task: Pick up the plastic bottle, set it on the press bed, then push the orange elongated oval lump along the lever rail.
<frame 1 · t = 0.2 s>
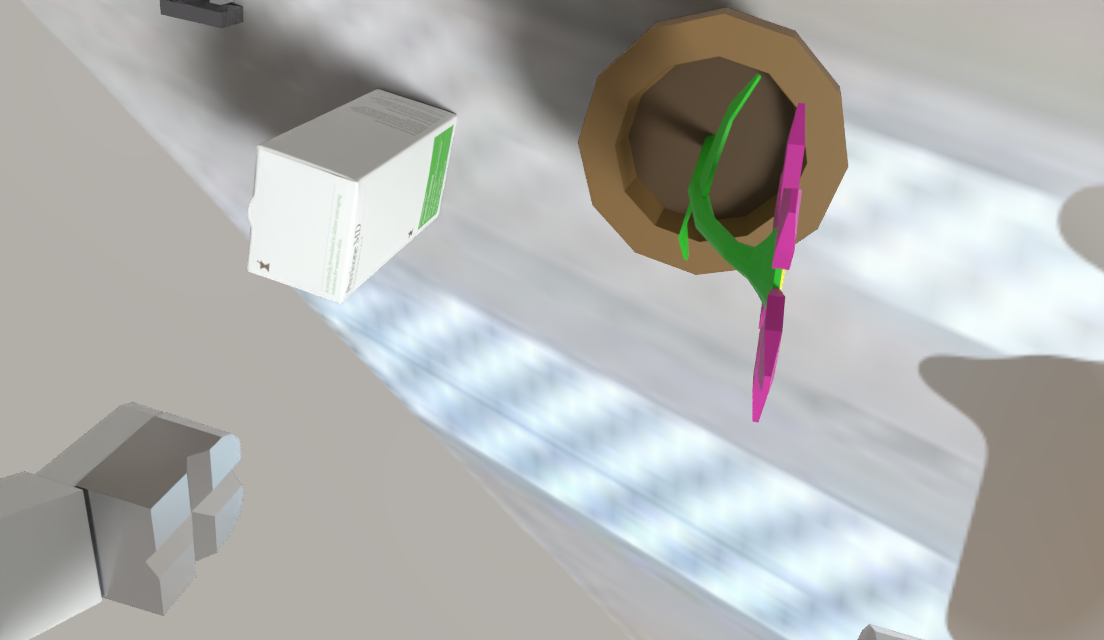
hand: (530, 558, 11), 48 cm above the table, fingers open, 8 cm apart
skincare box: (408, 149, 62), on the table
flowerpot: (723, 104, 55), on the table
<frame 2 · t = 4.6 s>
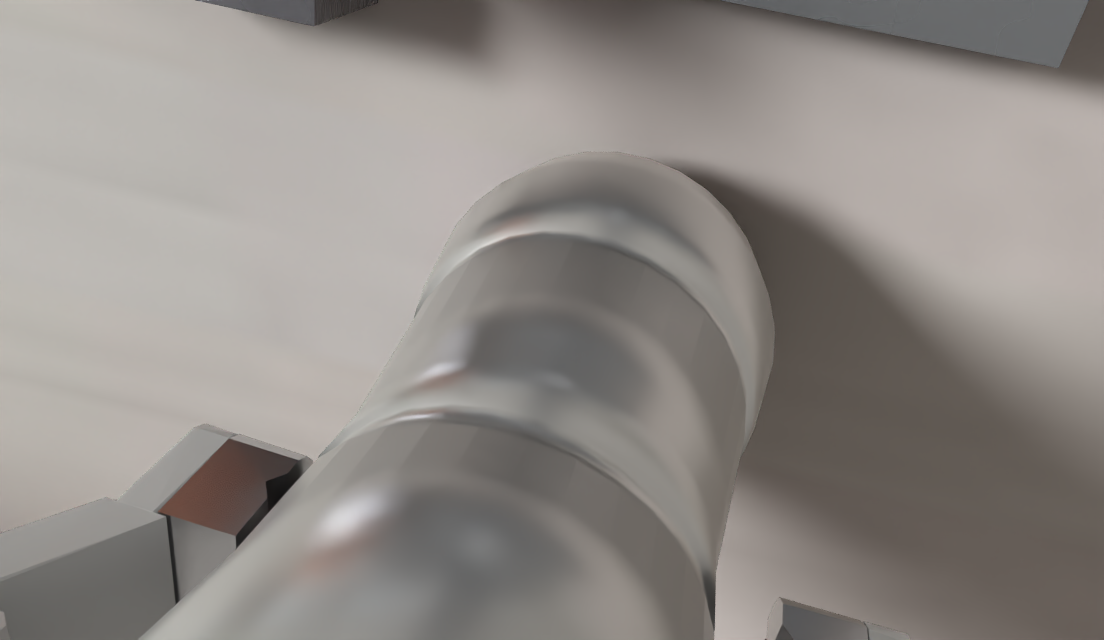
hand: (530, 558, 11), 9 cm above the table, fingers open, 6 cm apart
plastic bottle: (620, 271, 18), on the table, touching arm, gripper
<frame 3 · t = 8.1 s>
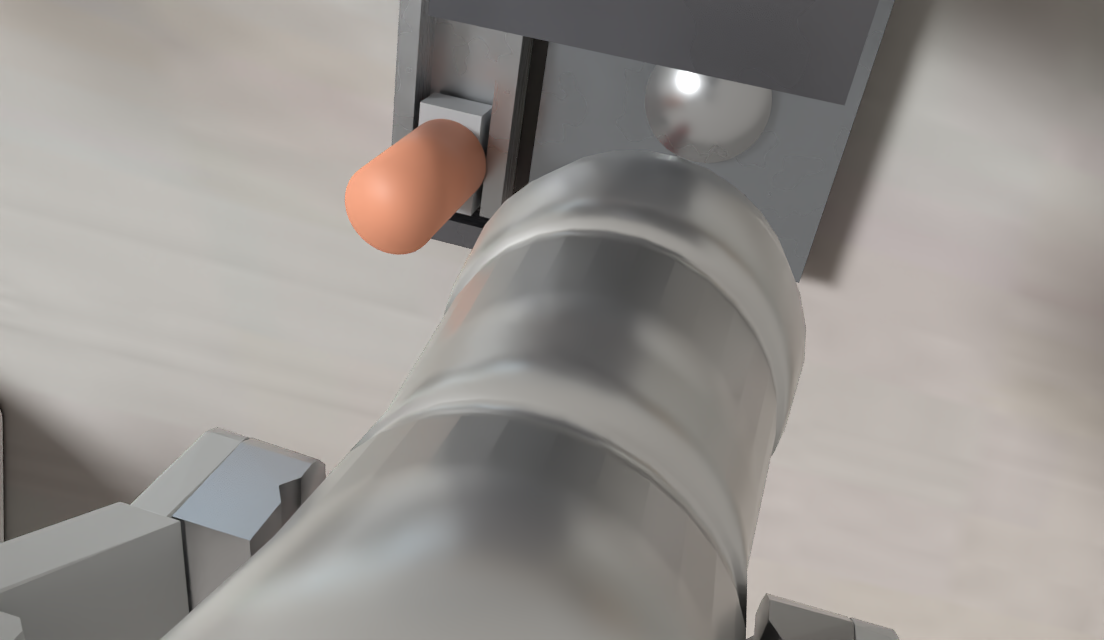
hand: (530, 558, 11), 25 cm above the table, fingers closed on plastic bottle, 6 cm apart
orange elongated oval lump: (427, 176, 31), point 5 cm above the table, slide at 0.0 cm
press bed: (711, 32, 31), on the table
plastic bottle: (649, 271, 18), point 16 cm above the table, touching gripper
when the fingers open (11 cm above the table, at t = 10.5 s): plastic bottle stays where it is, resting on press bed.
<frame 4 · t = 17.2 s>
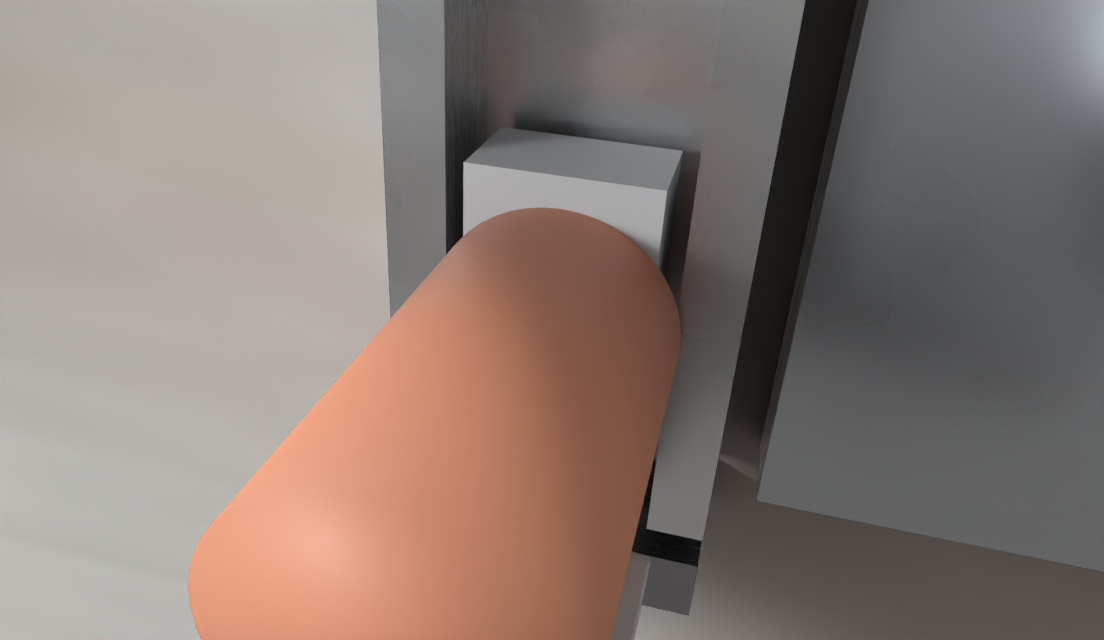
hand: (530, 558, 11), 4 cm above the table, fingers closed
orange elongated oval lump: (511, 408, 9), point 5 cm above the table, slide at 1.1 cm, touching gripper
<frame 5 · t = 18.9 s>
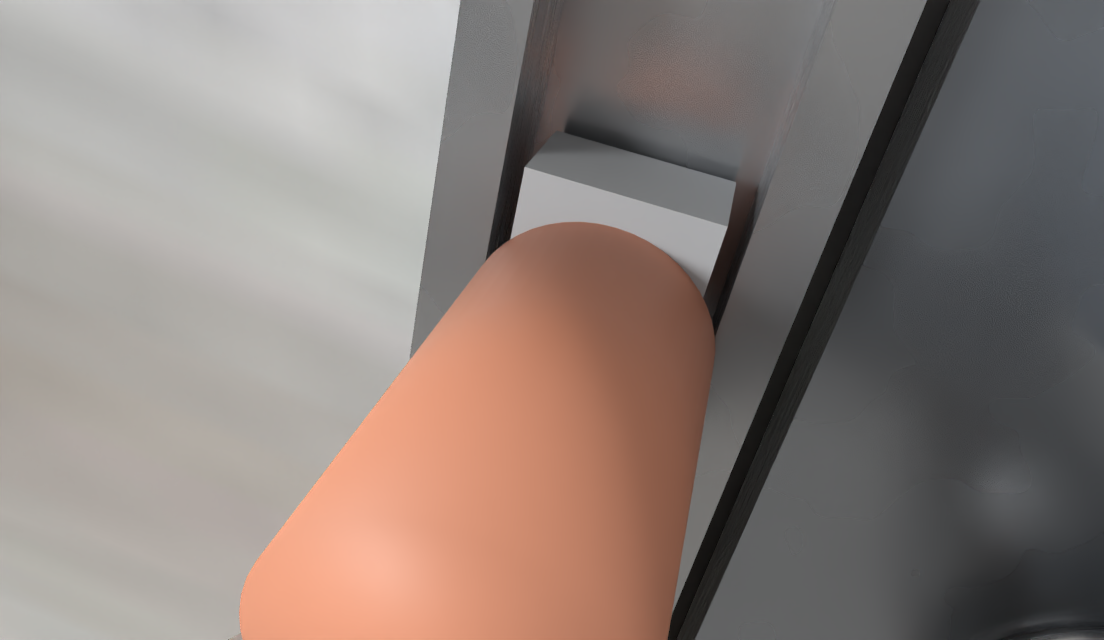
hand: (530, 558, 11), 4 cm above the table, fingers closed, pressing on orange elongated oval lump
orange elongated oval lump: (549, 425, 9), point 5 cm above the table, slide at 8.8 cm, touching gripper
lever rail: (584, 397, 15), on the table
press bed: (1093, 561, 14), on the table
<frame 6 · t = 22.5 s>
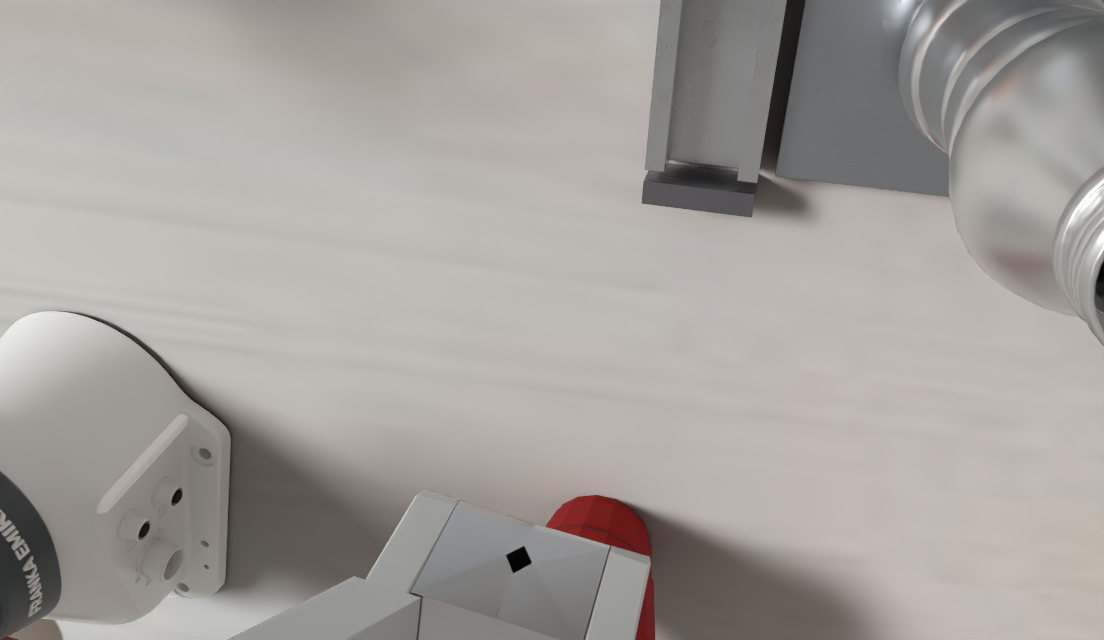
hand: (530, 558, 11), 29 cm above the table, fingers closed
plastic cup: (604, 533, 50), on the table
plastic bottle: (985, 45, 31), point 2 cm above the table, touching press bed
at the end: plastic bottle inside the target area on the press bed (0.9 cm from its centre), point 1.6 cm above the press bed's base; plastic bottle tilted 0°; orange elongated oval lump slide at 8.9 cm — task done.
